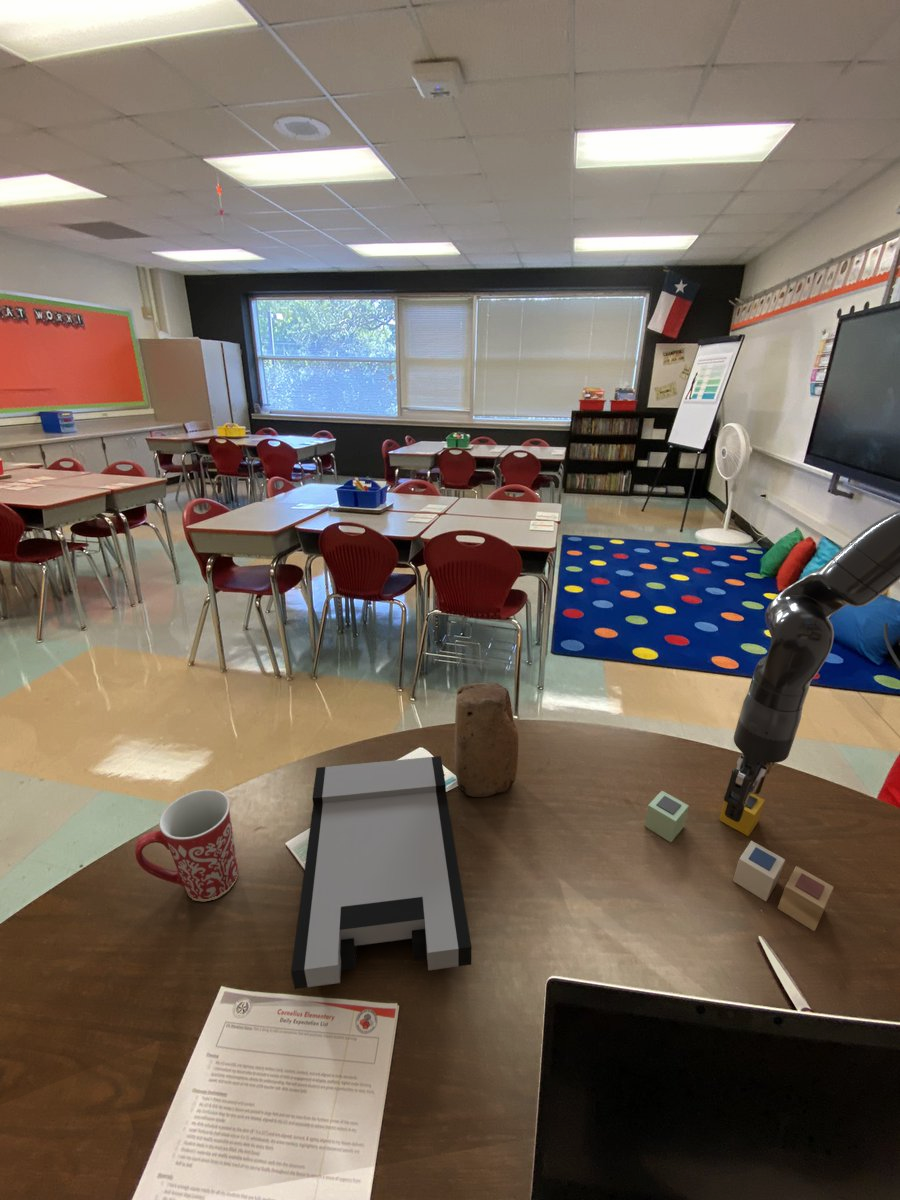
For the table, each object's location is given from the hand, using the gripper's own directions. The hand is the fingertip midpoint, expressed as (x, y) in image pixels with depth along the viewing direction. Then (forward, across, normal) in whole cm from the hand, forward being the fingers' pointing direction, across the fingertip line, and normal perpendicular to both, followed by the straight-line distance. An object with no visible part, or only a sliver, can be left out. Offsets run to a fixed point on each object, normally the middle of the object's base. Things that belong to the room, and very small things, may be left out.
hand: (742, 803), depth 88 cm
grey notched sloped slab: (+5, -49, +32) cm, 58 cm away
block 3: (+4, -10, -6) cm, 12 cm away
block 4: (+4, -10, -12) cm, 16 cm away
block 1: (+4, -24, +35) cm, 42 cm away
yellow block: (+4, 0, 0) cm, 4 cm away
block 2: (+4, -10, +8) cm, 13 cm away
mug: (+5, -68, +50) cm, 85 cm away
